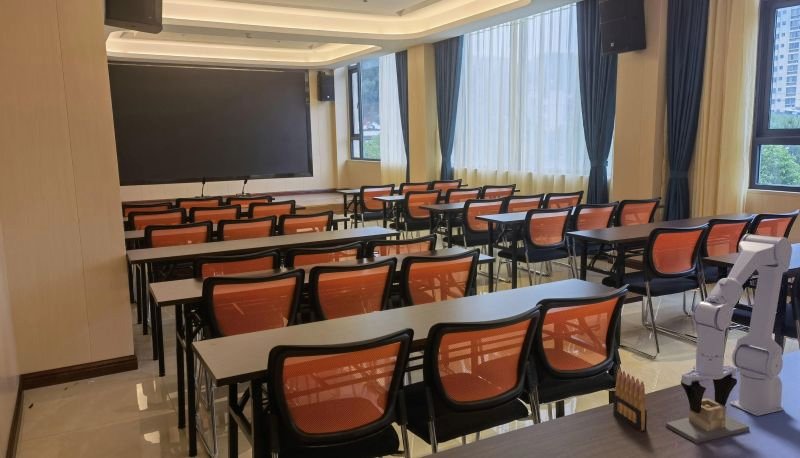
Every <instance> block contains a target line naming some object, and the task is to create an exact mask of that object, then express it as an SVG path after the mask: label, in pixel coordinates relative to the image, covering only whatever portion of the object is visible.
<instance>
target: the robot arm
mask: <svg viewBox="0 0 800 458" xmlns="http://www.w3.org/2000/svg"><path fill="white" fill-rule="evenodd" d="M792 255H793V246H792V244H791V242H790V240H789V239H788V238H787V237H786V236H785V237H783V236H782V237H778V236H771V235H770V236H768V235H759V234H758V235H757V234H751V233H746V234H744V235H743V236H742V238H741V239H740V241H739V243H738V257H737V259H736V261H735V262H734V265H733V266H732V268H731V269H730V271H729V274H728V275H727V277H723V278H721V279H719V280H718V281H717V282H716V284H715V286H714V287H713V288H712V290H711V291H710V293H709V294H708V296H707V297H706V299H705V300H702V301H700V302H697V303H696V304H695V306H694V308H693V311H692V314H691V320H692V322H693V323H694V331H695V332H696V354H695V365H694V366H693V368H692V370H690V371H688V372H686V373H683V374H681V379H680V385H681V387H682V388H683V389H684V392H685V394H686V397H687V399H688V403H689V406H690V408H691V411H693V412H695V413H700V411H701V403H702V399H704V398H703V396H704V393H705V392H706V390H707V387H704V386H702V385H701V383H700V382H704V381H709V380H712V382H713V388H714V401H715V402H717V403H719V404H721V405H723V406H727V405H726V404H727V403H728V399H729V397H730V394H731V392H732V391H733V389H734V388H735V386H736V385H737V384H738V387H739V388H738V400H733V401H729V402H730V403H729V404H730V405H732V406H734V407H736V408H738V409H740V410H743V411H745V412H747V413H750V414H752V415H754V416H762V415H766V414H771V413H775V412H780V411H783V410H785V407H783V406H782V398H783V397H782V395H783V394H782V393H783V392H782V391H783V384H782V380H781V378H780V376H779V375H780V374H781V371H782V369H783V362H784V361H783V348H782V347H781V346H780V345H779V344H778V343H777V342H776V341H775V340H774V338H773V332H774V327H775V321H776V320H775V319H776V316H777V315H776V314H777V309H778V303H779V297H780V291H781V285H782V279H783V273H786V272H788V271H789V270H790V266H791V261H792ZM755 271H756V272H758V276H757V282H756V288H755V293H754V300H753V304H752V311H751V316H750V322H749V328H748V333H747V334H745V335H743V336H741V337H739V338H738V339H737V340H736V345H735V347H734V349H733V351H732V354H731V361H732V364H733V366H732V365H724V364H725V363H724V362H725V361H724V360H725V339H726V338H725V337H726V329H728V327H729V326H730V325H731V321H732V317H733V315H734V307H736V305H737V304H738V302H739V300H740V299H741V298H742V296H743V294H744V288H743V285H744V284H745V283H746V282H747V280H748V279H750V277H751V276H752V275H753V274H754V272H755ZM737 372H738V373H739V383H738V380H737V379H736V378H734V377H735V376H737Z"/></svg>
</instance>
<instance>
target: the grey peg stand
mask: <svg viewBox="0 0 800 458" xmlns="http://www.w3.org/2000/svg"><path fill="white" fill-rule="evenodd" d="M704 407H707V408H711V406H709V405H705V406H704ZM665 427H666V428H667V429H669V430H671V431H673V432H675V433H676V434H679V435H680V436H682V437H684V438H685V439H688V440H689V441H691V442H692V443H695V444H699V443H703V442H707V441H711V440H715V439H719V438H724V437H727V436H731V435H735V434H737V435H738V434H740V433H745V432H748V431H750V426H749V425H746V424H745V423H743V422H740V421H738V420H736V419H734V418H732V417H730V416H728V415H726V419H725V427H723V428H719V429H715V430H711V431H706V430H704V429H702V428H700V427H698V426H696V425H694V424H692V423H691V422H689V417H686V418H680V419H677V420H672V421H668V422H665Z"/></svg>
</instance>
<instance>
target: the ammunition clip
mask: <svg viewBox="0 0 800 458" xmlns="http://www.w3.org/2000/svg"><path fill="white" fill-rule="evenodd" d="M645 390H646V389H645V384H644V381H643V380H642V381H639V378H636V380H635V375H632V376H631V375H630V373H629V372H628V373H627V374H626V372H625V370H623V371H622V370H621V368H618V370H617V373H616V382H615V394H614V395H613V412H612V414H614V415H615V416H616V417H618V418H619V419H621V420H622V421H623V422H625V423H627V424H628V425H630V426H631V427H632V428H633V429H635V430H636V431H638V432H645V431H647V430H648V429H647V426H648V425H647V423H648V422H647V421H648V420H647V419H648V415H647V413H648V412H647V411H648V410H647V409H646V391H645Z"/></svg>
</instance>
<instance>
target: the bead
mask: <svg viewBox="0 0 800 458" xmlns="http://www.w3.org/2000/svg"><path fill="white" fill-rule="evenodd" d="M705 405H709V406H711V408H707V407H704V406H705ZM688 408H689V409H688V410H689V412H688V413H689V414H688V418H689V422H691V423H692V424H694V425H696V426H698V427H700V428H702V429H704V430H706V431H711V430H715V429H719V428H723V427H725V419H726V416H727V413H726V412H727V405H725V406H723V405H721V404H719V403H717V402H715V400H713V399H710V398H708V397H706V398H702V403H701V411H700V413H695V412H693V411H691V408H690V405H689V407H688Z"/></svg>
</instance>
